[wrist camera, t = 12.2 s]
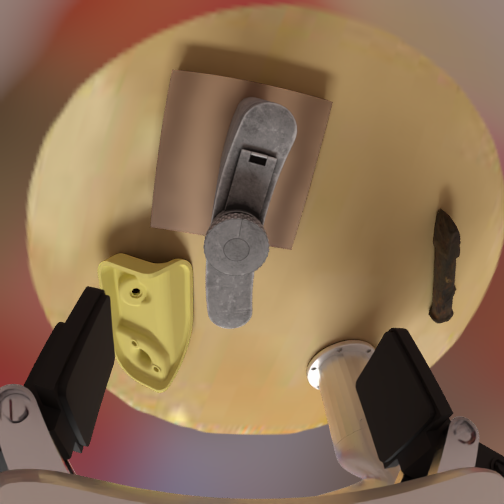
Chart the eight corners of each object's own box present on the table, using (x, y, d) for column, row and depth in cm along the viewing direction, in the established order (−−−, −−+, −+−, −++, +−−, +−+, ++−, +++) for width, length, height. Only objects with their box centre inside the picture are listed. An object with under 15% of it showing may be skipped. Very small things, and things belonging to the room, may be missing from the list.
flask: (207, 226, 35) (190, 348, 19) (231, 93, 28) (229, 94, 12) (241, 231, 35) (249, 355, 19) (269, 100, 28) (313, 112, 13)
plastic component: (95, 256, 36) (156, 278, 33) (132, 237, 43) (192, 254, 40) (117, 371, 44) (169, 398, 41) (144, 346, 51) (194, 368, 48)
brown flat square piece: (324, 100, 31) (332, 101, 29) (287, 238, 39) (291, 249, 37) (177, 71, 29) (172, 69, 26) (156, 216, 37) (150, 226, 34)
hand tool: (444, 305, 47) (457, 321, 43) (425, 312, 48) (438, 329, 43) (452, 203, 38) (471, 216, 34) (430, 209, 39) (449, 223, 34)
